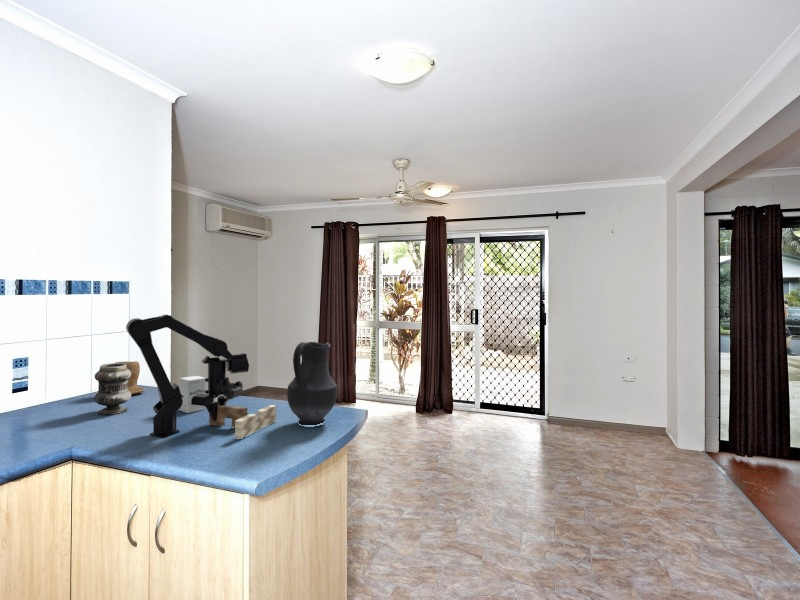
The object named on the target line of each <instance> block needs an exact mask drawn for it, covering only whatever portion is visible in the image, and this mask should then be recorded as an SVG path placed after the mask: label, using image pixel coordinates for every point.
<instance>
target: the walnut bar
mask: <svg viewBox="0 0 800 600" xmlns="http://www.w3.org/2000/svg"><path fill="white" fill-rule="evenodd" d="M208 415H209V417H208V425H209V426H210V425H215V426H214V427H218V426H222V425H224V426H225V422H226V420H225V419H231V428H232V427H234V428H235V420H238V419H240V418H242V417H244V416H247V415H248V407H243V406H234V405H233V406H232V405H218V407H217V419H216V421H213V419H212V418H211V416H210V414H209V413H208ZM222 427H223V426H222ZM234 428H233V429H234Z"/></svg>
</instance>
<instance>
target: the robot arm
mask: <svg viewBox="0 0 800 600" xmlns="http://www.w3.org/2000/svg"><path fill="white" fill-rule="evenodd" d="M165 328H167V329H170V330H172V331H173V332H175V333H177V334H179V335H180V336H183V337H184V338H186V339H189V340H191V341H193V342H194V343H196V344H197V345H199V346H200V348H202V349H203V350H205V351H206V352H207V353H209V354H211V355H212V356H214V357H210V356H208V355H206V356H205V357H204V358H203V359H201V363H203V364H204V365H205V364H206V365H207V368H208V369H207V377H205V378H206V379H205V382H207V389H206V390H205V393H206V394H199V395H196V396H193V397H192V398H191V405H199V406H205V407H206V409H205V410H207V412H208V415H209V414H210V416H211V418H212V419H213V421H216V419H217V407H218V405H226V404H227V403H228V402H229V401H231V400H234V398H239V396H240V394H241V392H243V385H244V384H243V382H241V381H240V380H239V381H235V382H230V378H229V377H228V376H227V372H229V374H231V375H232V374H243V373H248V372H249V369H250V363H249V359H248V357H247V356H248V354H247V353H237V354H232V352H230V351H229V349H228V345H227V342H225V340H222V339H219V338H216V337H215V336H214V337H213V336H211V335H207V334H204V333H202V332H201V331H199V330H197V329H194V328H193V327H192V326H190V325H188V324H185V323H184V322H181V321H180V320H178V319H176V318H175V317H173V316H172V315H170V314H162V315H158V316H154V317H148V318H145V319H142V318H140V317H139V318H132V319H130V320H129V321H128V322H127V323H126V325H125V329H126V332H127V333H128V335H129V336H130V337H131V339H132V341H134V343H135V344H136V346H138V348H139V350H140V353H141V354H142V356H143V358H144V360H145V363H146V365H147V367H148V369H149V371H150V373H151V375H152V378H153V380H154V382H155V384H156V386H157V387H156V388H157V392H158V398H159V400H158V402H157V403H155V405H154V406H153V407H152V410H153V411H154V413H155V415H154V416H153V418H152V419H153V420H152V422H153V425H152V427H153V428H152V429H153V432H151V433H149V436H151V435H153V437H159V436H160V437H161V438H168V437H169V436H172V435H175V434H176V433H177V434H178V433H179V432H180V429H177V416H176V415H177V412H178V411H179V408H180V407H181V406H182V404H183V400H182V398H183V397H184V396H183V395H182V394H181V393H180V389H179V384H177V383H176V382H174V383H173V384H172V383H171V381H170V380H169V379H170V378H169V377H168V375H167V373H166V370H165V368H164V367H163V364H162V362H161V360H160V358H159V356H158V354H157V351H156V349H155V346H154V344H153V339H152V334H151V333H152V332H157V331H159V330H162V329H165ZM220 357H221V358H220ZM222 358H223V359H222ZM226 371H227V372H226ZM226 406H227V405H226Z"/></svg>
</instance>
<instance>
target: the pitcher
mask: <svg viewBox="0 0 800 600" xmlns="http://www.w3.org/2000/svg"><path fill="white" fill-rule="evenodd" d="M330 348H331V344H330V343H329V342H326V343H320V342H318V341H317V342H316V341H308V342H307V341H306V342H304V341H303V342H302V341H301V342H299V343H298V344H297V345H296V347H295V349H294V351H293V357H292V362H293V370H294V376H295V377H294V378H293V379H292V380H291V381H290V383H289V384H288V385H287V392H286V393H287V394H286V395H287V404H288V407H289V408H290V410H291V412H292V413H293V414H294V416H295V415H296V417H297V418H298V419H299V420H298V421H297V424H298V423H299V424H301V425H317V424H320V423H323V422H324V421H326V419H325V417H326V416H327V415H328V414H329V413H330V412H331V411H332V409H333V408H334V406H335V404H336V402H337V397H338V385H337V383H336V382H335V381H334V380H333V379H332V378H333V377H332V376H331V373H330V371H329V366H328V352H329V349H330Z"/></svg>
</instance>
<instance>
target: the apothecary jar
mask: <svg viewBox="0 0 800 600" xmlns="http://www.w3.org/2000/svg"><path fill="white" fill-rule="evenodd" d="M130 376H131V372H130V370H128V369H127V367H126V364H124V363H115V362H112V363H111V362H110V363H104V364H100V365H99V370H98V371H96V372H95V374H94V379H95V381H97V382H98V390H97V393H96V394H95V395H94V397H93V401H94V402H95V403H96V404H98V405H100V406H105V407H103V408H102V409H99V410H98V411H97V414H98V415H100V414H114V415H117V414H116V413H120V414H122V413H121V412H123V411H126V412H128V411H127V410H129V408H128V407H125V406H123V404H126V402H128V401H129V400H131V398H132V395H131V393H130V391H128V378H130ZM123 413H124V412H123Z"/></svg>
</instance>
